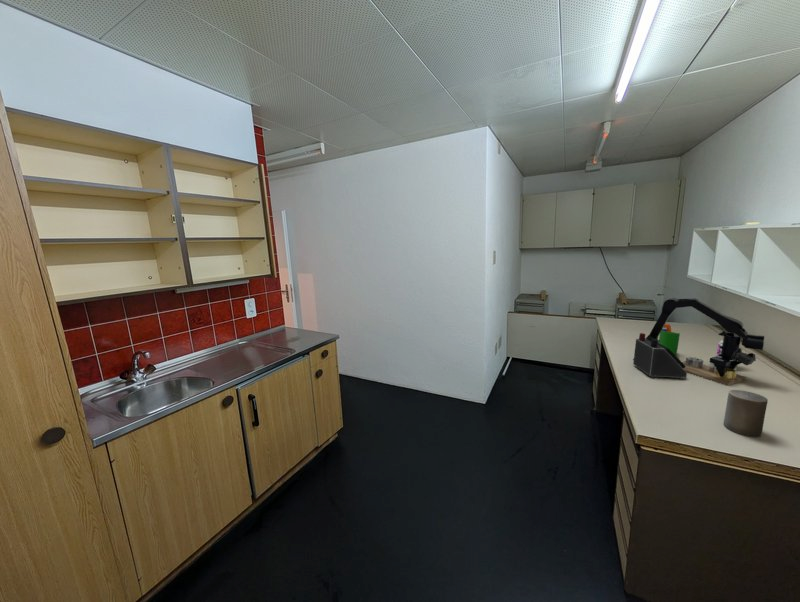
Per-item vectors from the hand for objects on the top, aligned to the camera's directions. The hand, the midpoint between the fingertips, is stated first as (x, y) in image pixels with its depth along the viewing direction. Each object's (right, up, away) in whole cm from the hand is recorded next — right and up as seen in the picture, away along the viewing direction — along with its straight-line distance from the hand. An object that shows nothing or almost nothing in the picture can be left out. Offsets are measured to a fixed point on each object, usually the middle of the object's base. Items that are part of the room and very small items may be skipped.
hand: (725, 375), depth 154 cm
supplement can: (+14, 0, +14) cm, 20 cm away
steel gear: (-3, +2, +14) cm, 14 cm away
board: (-2, -1, +8) cm, 8 cm away
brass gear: (0, -1, 0) cm, 1 cm away
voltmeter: (-25, -2, +11) cm, 27 cm away
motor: (0, +3, +34) cm, 34 cm away
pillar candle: (-35, -11, -39) cm, 54 cm away
